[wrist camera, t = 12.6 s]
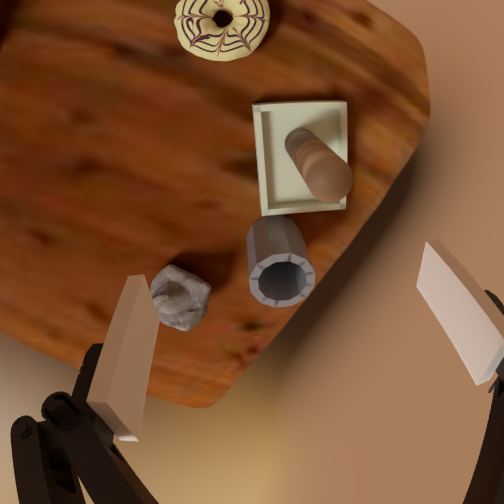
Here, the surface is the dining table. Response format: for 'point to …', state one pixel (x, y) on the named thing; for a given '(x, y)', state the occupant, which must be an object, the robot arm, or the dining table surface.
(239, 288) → the dining table surface
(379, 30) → the dining table surface
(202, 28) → the decorated donut
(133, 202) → the dining table surface
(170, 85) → the dining table surface
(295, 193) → the sage tray
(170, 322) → the fossil
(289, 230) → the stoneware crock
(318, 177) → the walnut dowel
